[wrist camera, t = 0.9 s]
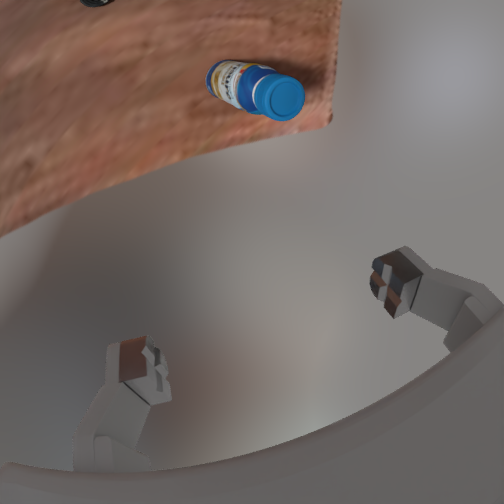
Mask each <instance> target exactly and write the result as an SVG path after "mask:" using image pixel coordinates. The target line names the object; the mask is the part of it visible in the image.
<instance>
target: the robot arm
mask: <svg viewBox="0 0 504 504" xmlns="http://www.w3.org/2000/svg"><path fill="white" fill-rule="evenodd" d="M372 268H373V270H374V272H373V273H372V275H371V276H370V287H371V290H372V292H373V294H374V296H375V297H376V298H377V299H378V300H381V301H383V302H384V308H385V309H386V310H387V312H388V313H389V314H390V315H391V316H392V318H393V319H395V318H396V317H399V316H400V315H402V314H404V313H406V312H408V311H410V310H411V311H410V312H412V313H414V314H416V315H418V316H420V317H422V318H424V319H426V320H428V321H430V322H432V323H433V324H436V325H437V326H439V327H441V328H443V329H445V330H447V331H448V333H447V335H446V337H445V338H444V342H443V343H444V345H445V346H446V347H447V348H448V350H449V351H450V352H451V353H450V354H449V355H448V356H446V357H445V358H443V359H442V360H441V361H439V362H438V363H437V364H435V365H434V366H432V367H431V368H430V369H428V370H427V371H425V372H424V373H422V374H421V375H419V376H418V377H416V378H415V379H414V380H412V381H410V382H409V383H407V384H406V385H404V386H402V387H401V388H399V389H397V390H396V391H394V392H393V393H391V394H389V395H387V396H386V397H384V398H382V399H380V400H379V401H377V402H375V403H373V404H371V405H369V406H368V407H366V408H364V409H362V410H360V411H358V412H356V413H354V414H352V415H350V416H348V417H346V418H343V419H342V420H339V421H337V422H335V423H332V424H331V425H328V426H326V427H323V428H321V429H319V430H316V431H314V432H311V433H309V434H306V435H304V436H301V437H298V438H296V439H293V440H290V441H287V442H284V443H281V444H279V445H275V446H272V447H269V448H266V449H263V450H259V451H256V452H252V453H249V454H245V455H241V456H237V457H233V458H229V459H225V460H221V461H216V462H211V463H206V464H200V465H195V466H189V467H182V468H175V469H167V470H157V471H151V466H150V460H149V457H148V456H147V455H145V454H143V453H141V452H139V451H137V450H135V447H136V444H137V441H138V439H139V436H140V433H141V431H142V428H143V425H144V423H145V420H146V418H147V415H148V412H149V410H150V407H151V406H150V405H155V404H159V403H163V402H168V401H171V400H172V398H171V391H170V384H169V383H168V382H167V381H166V379H165V378H166V377H167V375H168V367H167V363H166V360H165V357H164V355H163V353H162V352H161V351H160V349H159V348H156V347H154V341H153V340H152V338H151V337H150V336H143V337H139V338H135V339H130V340H126V341H122V342H118V343H114V344H109V346H108V348H107V360H106V379H105V385H104V386H101V388H100V390H99V392H98V393H97V395H96V397H95V398H94V400H93V402H92V403H91V405H90V407H89V408H88V410H87V412H86V414H85V415H84V417H83V419H82V421H81V422H80V424H79V426H78V428H77V430H76V431H75V433H74V435H73V468H74V471H63V470H55V469H47V468H40V467H34V466H29V465H24V464H19V463H15V462H5V463H4V464H3V465H2V467H1V468H0V504H504V304H503V303H502V302H501V301H500V300H499V299H498V298H497V297H496V296H495V295H494V294H493V293H492V292H491V291H490V290H489V289H488V288H487V287H486V286H485V285H484V284H481V283H478V282H475V281H473V280H470V279H467V278H464V277H461V276H458V275H455V274H452V273H449V272H446V271H443V270H440V269H437V268H436V269H433V268H431V267H430V266H429V265H428V264H427V263H426V262H425V261H424V260H423V259H422V258H421V257H419V256H418V255H417V254H416V253H415V252H414V251H413V250H412V249H410V248H409V247H407V246H404V247H401V248H399V249H396V250H395V251H392V252H389V253H387V254H384V255H382V256H380V257H377V258H375V259H374V260H373V262H372Z"/></svg>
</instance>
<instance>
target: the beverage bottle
mask: <svg viewBox="0 0 504 504" xmlns="http://www.w3.org/2000/svg"><path fill="white" fill-rule="evenodd" d="M206 86H207V89H208V91H209V92H210V93H211V94H212V95H213V96H215V97H217V98H219V99H222V100H224V101H226V102H228V103H230V104H232V105H234V106H235V107H236V108H238V109H241V110H244V111H246V112H248V113H251V114H257V115H261V114H263V115H265V116H267V117H269V118H271V119H273V120H276V121H287V120H290V119H292V118H294V117H295V116H296V115H297V114H298V113H299V112H300V111H301V109H302V107H303V105H304V101H305V92H304V88H303V86H302V84H301V83H300V82H299V81H298V80H296V79H295V78H293V77H291V76H287V75H283V74H279V73H278V72H277V71H276V70H274V69H273V68H271V67H268V66H263V65H261V64H257V63H243V62H237V61H233V60H222V61H219V62H217V63H216V64H214V65H213V66H212V67H211V68H210V69H209V71H208V73H207V76H206Z"/></svg>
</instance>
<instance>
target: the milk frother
mask: <svg viewBox="0 0 504 504" xmlns="http://www.w3.org/2000/svg"><path fill="white" fill-rule="evenodd" d="M80 1H81V3H82V4H84V5H85V6H88V7H98V6H101V5H103V4H105V3H107V2H108V1H109V0H80Z"/></svg>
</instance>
